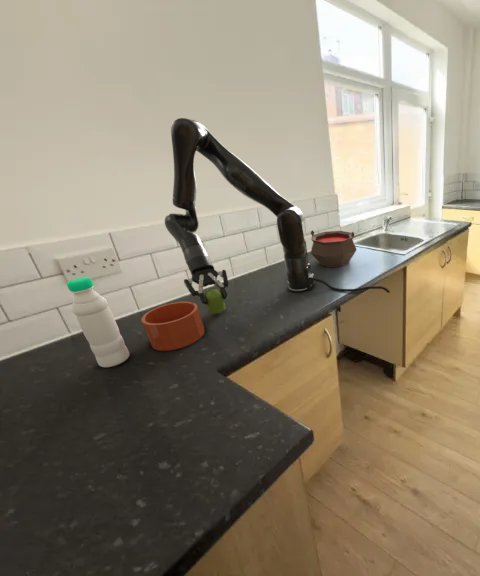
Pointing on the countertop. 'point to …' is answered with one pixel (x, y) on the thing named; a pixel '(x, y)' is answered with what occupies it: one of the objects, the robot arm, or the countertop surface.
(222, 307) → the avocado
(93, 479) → the countertop surface
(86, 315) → the water bottle
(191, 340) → the pot
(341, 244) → the brown cauldron
